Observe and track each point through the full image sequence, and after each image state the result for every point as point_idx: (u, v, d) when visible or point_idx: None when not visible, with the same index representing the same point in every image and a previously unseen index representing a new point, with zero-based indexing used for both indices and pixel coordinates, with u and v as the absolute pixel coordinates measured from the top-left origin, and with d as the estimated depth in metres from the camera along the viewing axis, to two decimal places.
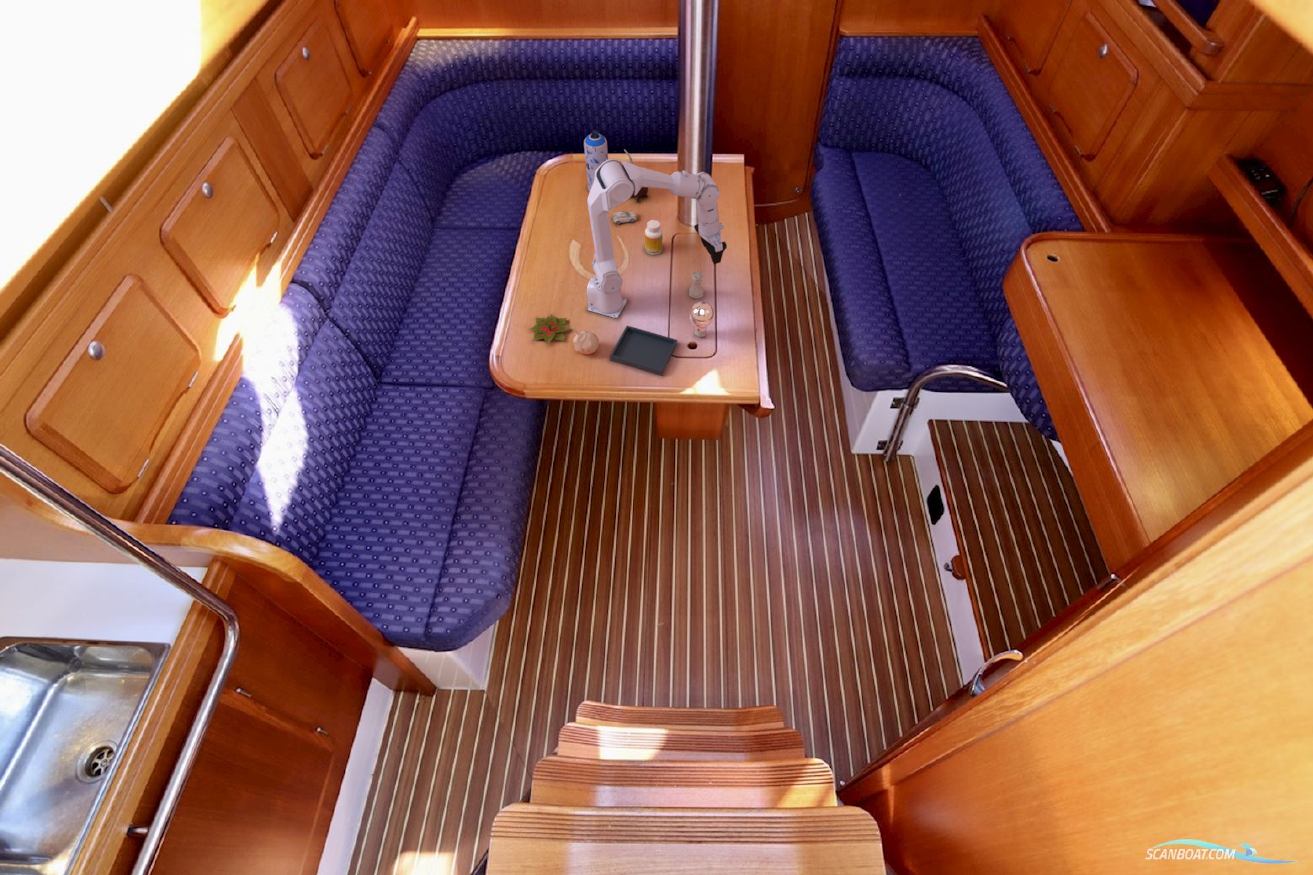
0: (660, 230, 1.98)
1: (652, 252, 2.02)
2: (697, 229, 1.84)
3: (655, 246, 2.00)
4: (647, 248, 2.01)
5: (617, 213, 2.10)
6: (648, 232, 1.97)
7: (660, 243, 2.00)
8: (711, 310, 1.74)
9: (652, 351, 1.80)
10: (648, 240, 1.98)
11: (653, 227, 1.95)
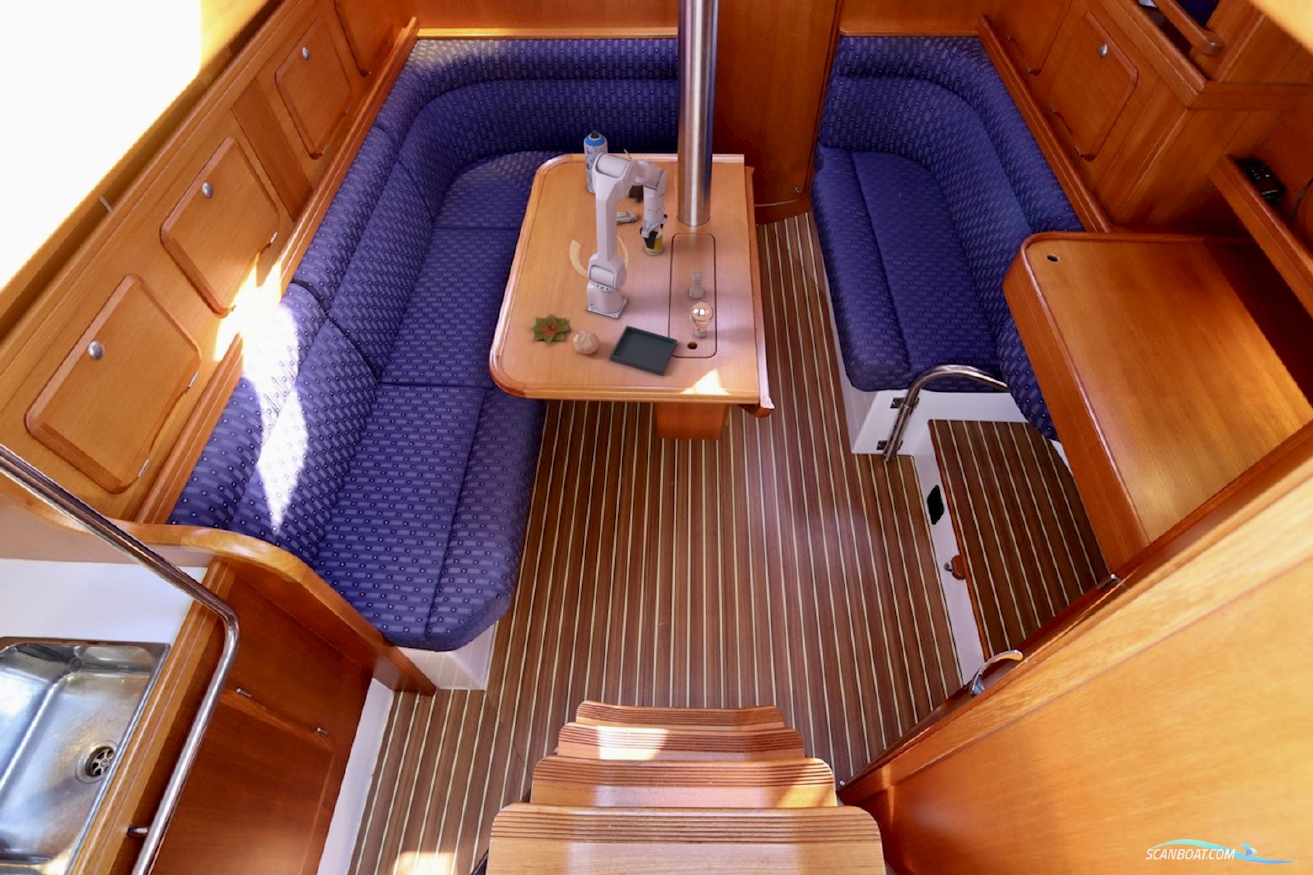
0: (660, 230, 1.98)
1: (652, 252, 2.02)
2: None
3: (655, 246, 2.00)
4: (647, 248, 2.01)
5: (617, 213, 2.10)
6: None
7: (660, 243, 2.00)
8: (711, 310, 1.74)
9: (652, 351, 1.80)
10: None
11: None
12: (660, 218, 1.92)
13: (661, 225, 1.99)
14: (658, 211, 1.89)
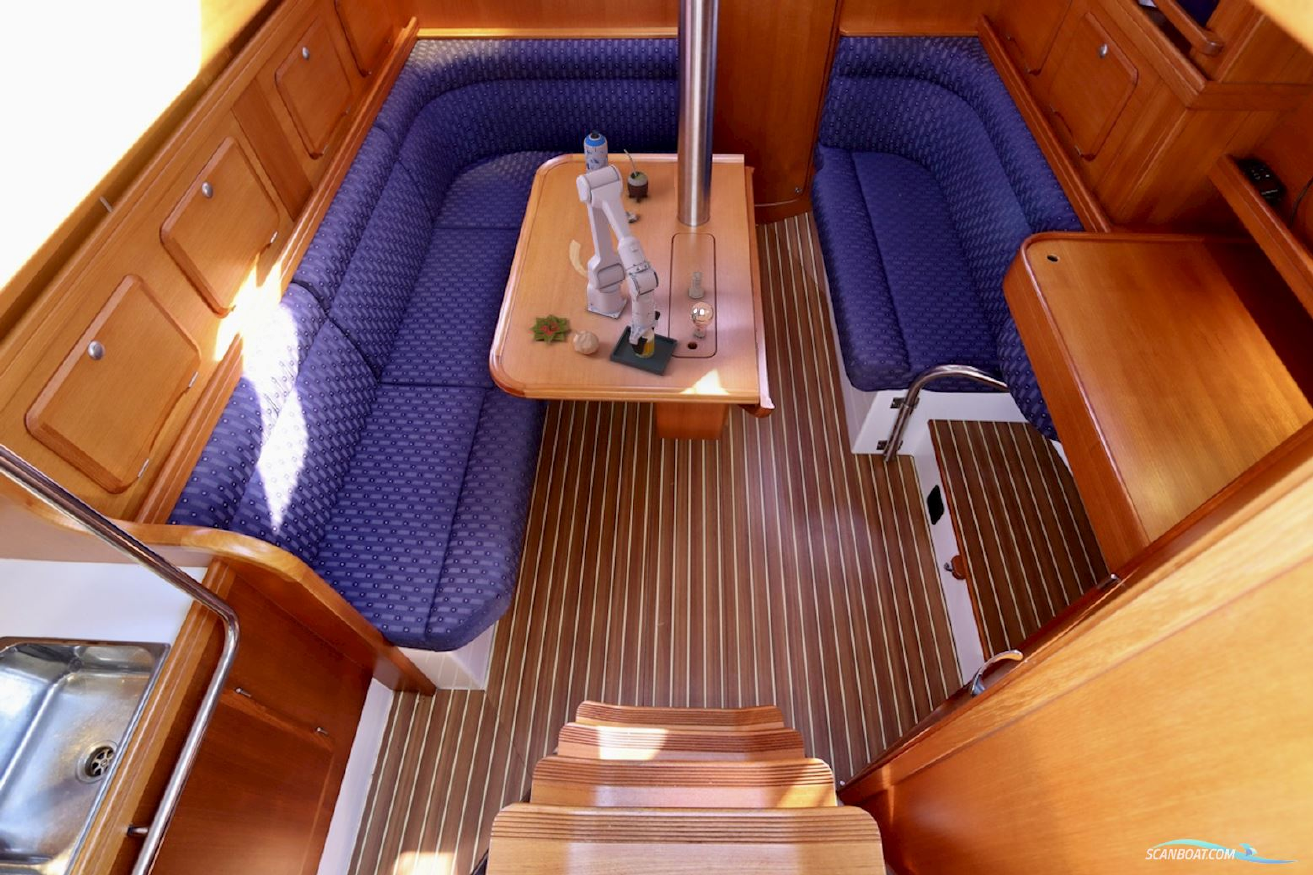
0: (651, 333, 1.73)
1: (643, 356, 1.77)
2: None
3: (646, 350, 1.75)
4: None
5: None
6: None
7: (652, 346, 1.76)
8: (711, 310, 1.74)
9: None
10: None
11: None
12: (651, 321, 1.67)
13: None
14: (648, 315, 1.65)
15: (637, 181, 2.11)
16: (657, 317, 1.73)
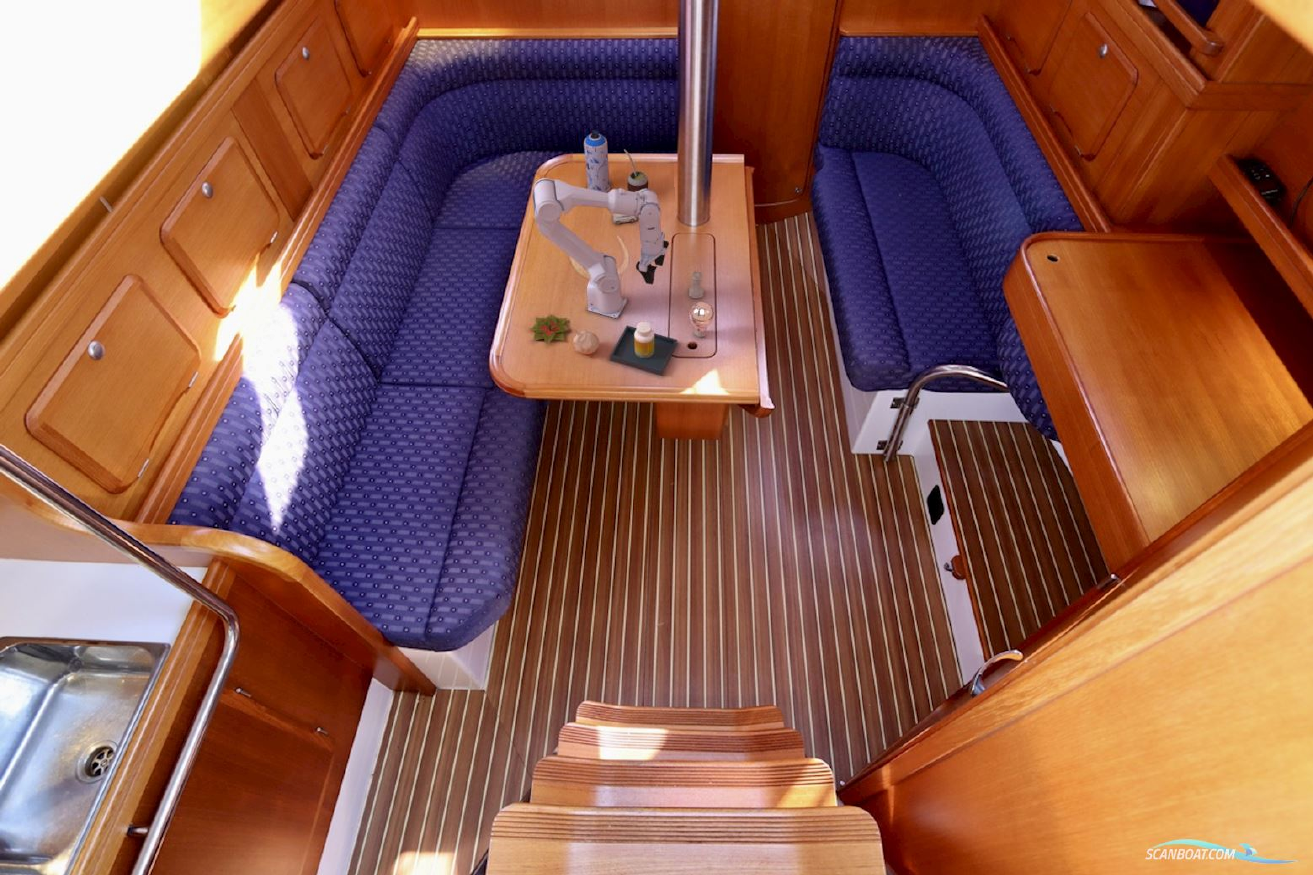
0: (652, 333, 1.73)
1: (643, 356, 1.77)
2: None
3: (646, 350, 1.75)
4: (637, 351, 1.77)
5: None
6: (638, 336, 1.73)
7: (652, 346, 1.76)
8: (711, 310, 1.74)
9: None
10: (638, 344, 1.74)
11: (643, 331, 1.71)
12: (659, 249, 1.73)
13: None
14: (656, 242, 1.70)
15: (637, 181, 2.11)
16: (666, 246, 1.78)
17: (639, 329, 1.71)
